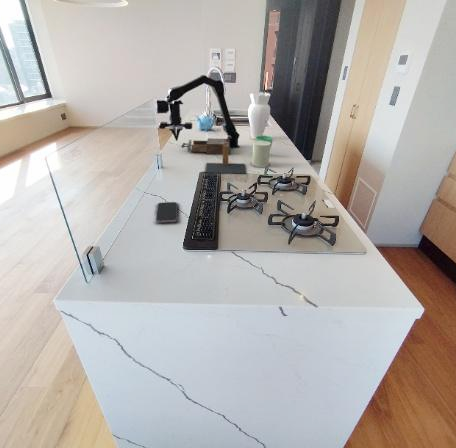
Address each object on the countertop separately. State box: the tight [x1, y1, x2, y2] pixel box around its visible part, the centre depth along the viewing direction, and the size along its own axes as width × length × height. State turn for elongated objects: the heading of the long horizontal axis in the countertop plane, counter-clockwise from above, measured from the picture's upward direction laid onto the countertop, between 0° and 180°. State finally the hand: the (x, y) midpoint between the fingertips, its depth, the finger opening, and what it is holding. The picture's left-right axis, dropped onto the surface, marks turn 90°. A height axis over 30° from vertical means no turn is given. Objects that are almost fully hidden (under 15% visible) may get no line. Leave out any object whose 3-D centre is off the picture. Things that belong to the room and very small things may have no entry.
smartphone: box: [155, 201, 178, 224], centre depth 105 cm, size 7×1×15 cm
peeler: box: [222, 142, 230, 165], centre depth 148 cm, size 3×3×12 cm
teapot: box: [195, 114, 215, 132], centre depth 217 cm, size 13×13×10 cm
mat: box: [205, 162, 247, 175], centre depth 147 cm, size 20×14×1 cm
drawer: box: [181, 139, 207, 153], centre depth 171 cm, size 16×11×4 cm
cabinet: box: [206, 137, 231, 156], centre depth 171 cm, size 14×13×6 cm
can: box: [250, 140, 272, 168], centre depth 150 cm, size 9×9×12 cm
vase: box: [247, 91, 271, 141], centre depth 193 cm, size 15×15×29 cm
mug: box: [255, 134, 274, 149], centre depth 167 cm, size 15×10×10 cm
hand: (176, 140), depth 169 cm, fingers closed
